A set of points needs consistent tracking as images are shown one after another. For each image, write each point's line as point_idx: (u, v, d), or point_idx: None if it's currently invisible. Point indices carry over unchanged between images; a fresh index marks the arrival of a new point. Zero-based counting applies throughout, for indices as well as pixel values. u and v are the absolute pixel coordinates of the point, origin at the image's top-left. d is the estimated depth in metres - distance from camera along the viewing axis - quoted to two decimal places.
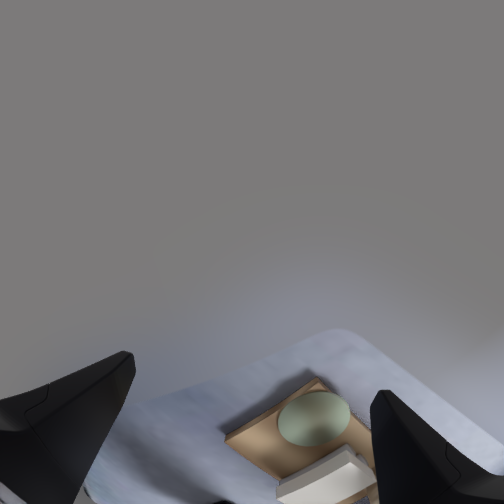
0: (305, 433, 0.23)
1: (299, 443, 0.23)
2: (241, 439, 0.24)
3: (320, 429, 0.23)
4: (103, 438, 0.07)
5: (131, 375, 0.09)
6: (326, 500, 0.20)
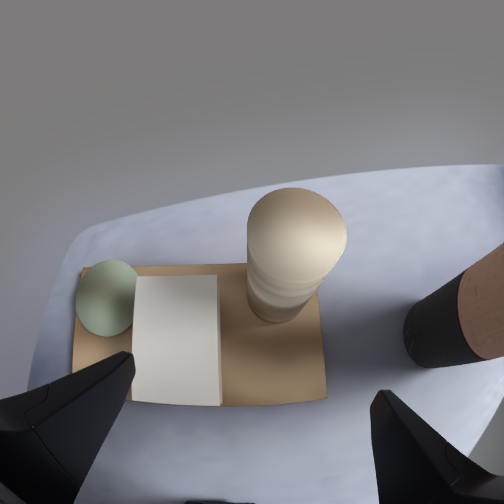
0: (111, 314, 0.22)
1: (117, 330, 0.21)
2: None
3: (118, 299, 0.22)
4: (103, 439, 0.07)
5: (131, 375, 0.09)
6: (193, 354, 0.17)
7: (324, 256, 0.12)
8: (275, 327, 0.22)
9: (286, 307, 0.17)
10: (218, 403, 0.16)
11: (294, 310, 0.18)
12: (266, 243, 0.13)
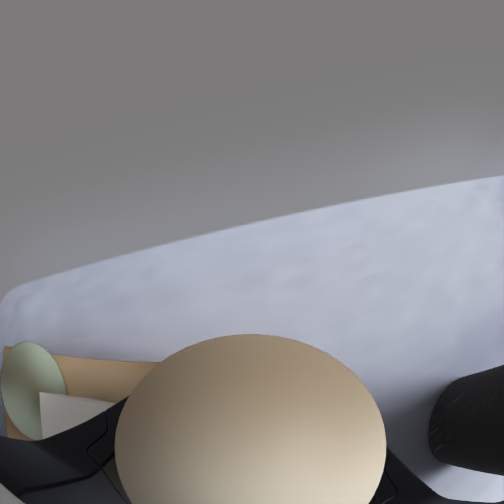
0: (35, 415, 0.11)
1: None
2: None
3: None
4: None
5: None
6: None
7: None
8: None
9: None
10: None
11: None
12: (165, 502, 0.03)
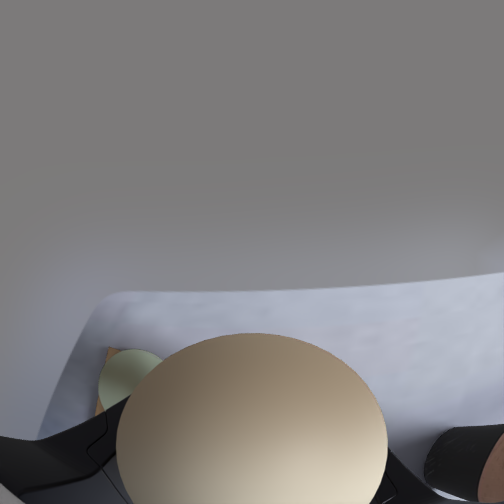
0: None
1: None
2: None
3: None
4: None
5: None
6: None
7: None
8: None
9: None
10: None
11: None
12: (166, 502, 0.03)
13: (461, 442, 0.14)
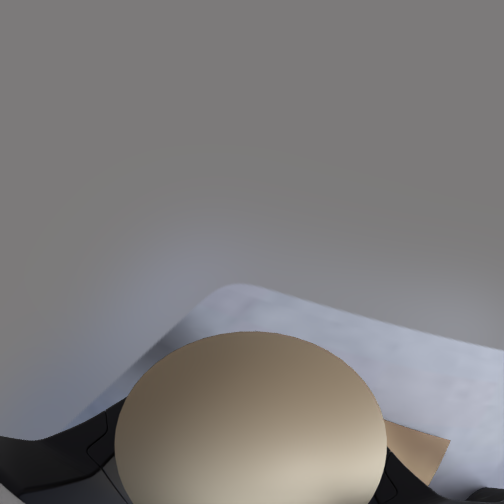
0: None
1: None
2: None
3: None
4: None
5: None
6: None
7: None
8: None
9: None
10: None
11: None
12: (164, 501, 0.03)
13: (494, 500, 0.08)
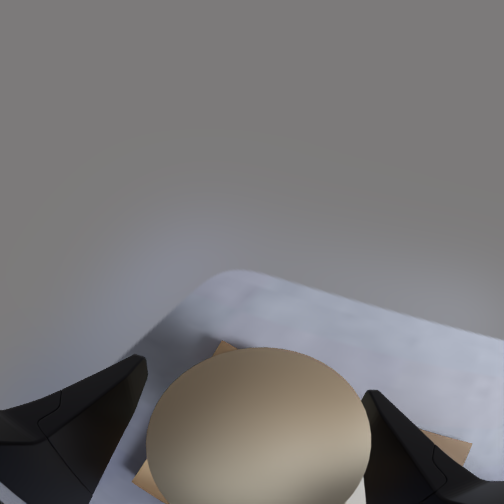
0: None
1: None
2: None
3: None
4: (116, 444, 0.07)
5: (143, 379, 0.09)
6: None
7: None
8: None
9: None
10: None
11: None
12: (189, 489, 0.04)
13: None
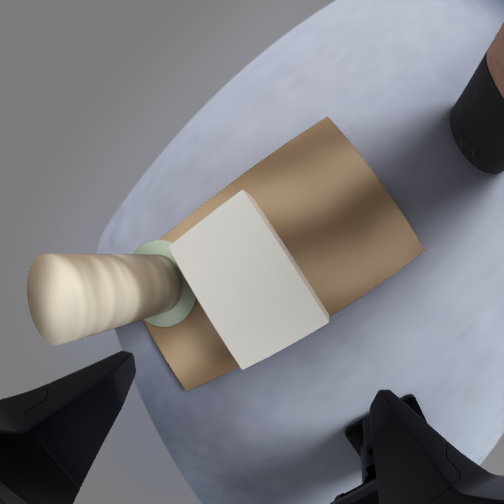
0: None
1: (188, 307, 0.21)
2: (180, 371, 0.22)
3: None
4: (103, 438, 0.07)
5: (131, 375, 0.09)
6: (271, 285, 0.15)
7: (62, 297, 0.11)
8: (334, 204, 0.18)
9: (138, 308, 0.16)
10: (326, 320, 0.15)
11: (153, 294, 0.17)
12: (50, 332, 0.11)
13: (466, 100, 0.13)
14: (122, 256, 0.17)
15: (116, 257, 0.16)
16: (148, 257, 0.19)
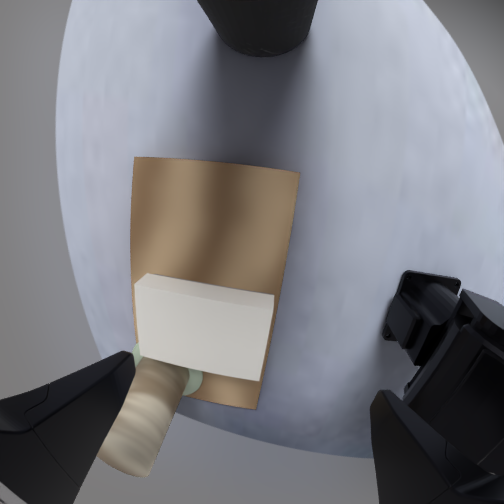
0: None
1: None
2: (238, 402, 0.24)
3: None
4: (103, 438, 0.07)
5: (131, 375, 0.09)
6: (214, 322, 0.17)
7: (121, 452, 0.12)
8: (201, 214, 0.19)
9: (166, 405, 0.18)
10: (270, 310, 0.16)
11: (165, 387, 0.19)
12: (139, 472, 0.13)
13: (212, 22, 0.13)
14: None
15: None
16: (140, 366, 0.21)
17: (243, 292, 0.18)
